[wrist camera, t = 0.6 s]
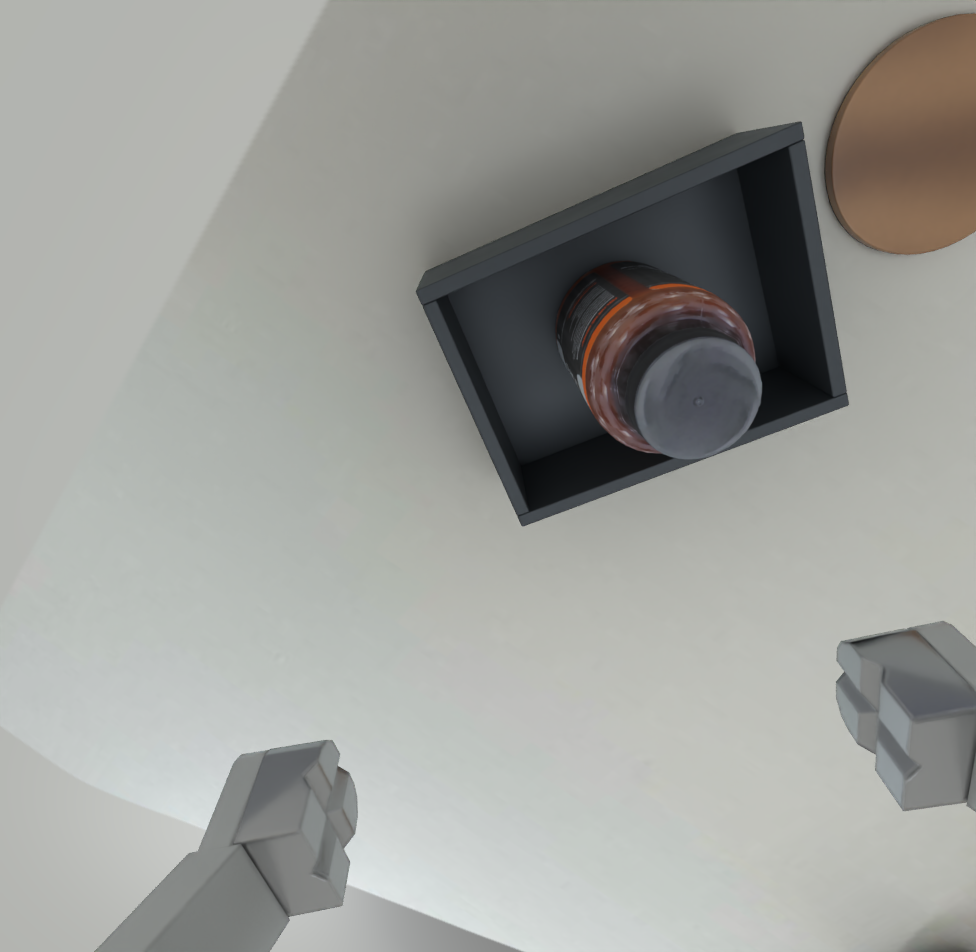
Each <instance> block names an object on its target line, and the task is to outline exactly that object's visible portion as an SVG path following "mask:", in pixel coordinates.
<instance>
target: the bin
mask: <svg viewBox="0 0 976 952" xmlns="http://www.w3.org/2000/svg"><path fill="white" fill-rule="evenodd" d="M803 139H804V133H803V127H802V122H795V123H789V124H784V125H779V126H773V127H768V128H762V129H757V130H751V131H746V132H741V133H736V134H734V135H732V136H730V137H727V138H725V139H723V140H721V141H718V142H716V143H714V144H712V145H709V146H707V147H705V148H703V149H700V150H698V151H696V152H694V153H691V154H689V155H687V156H685V157H682V158H680V159H678V160H676V161H673V162H671V163H669V164H667V165H664V166H662V167H660V168H658V169H655V170H653V171H651V172H649V173H646V174H644V175H642V176H640V177H637V178H635V179H633V180H631V181H628V182H626V183H624V184H621V185H619V186H617V187H615V188H612V189H610V190H608V191H606V192H603V193H601V194H599V195H597V196H594V197H592V198H590V199H588V200H585V201H583V202H581V203H579V204H576V205H574V206H572V207H570V208H567V209H565V210H563V211H561V212H558V213H556V214H554V215H552V216H549V217H547V218H545V219H543V220H540V221H538V222H536V223H534V224H531V225H529V226H527V227H525V228H522V229H520V230H518V231H516V232H513V233H511V234H509V235H507V236H504V237H502V238H500V239H498V240H495V241H493V242H491V243H488V244H486V245H484V246H482V247H479V248H477V249H475V250H473V251H470V252H468V253H466V254H464V255H461V256H459V257H457V258H455V259H452V260H450V261H448V262H446V263H443V264H441V265H439V266H437V267H434V268H432V269H430V270H428V271H426V272H425V273H424V275H423V277H422V279H421V281H420V284H419V286H418V288H417V290H416V293H417V295H418V298H419V300H420V302H421V304H422V305H423V309H424V311H425V313H426V315H427V317H428V320H429V322H430V324H431V326H432V329H433V331H434V333H435V335H436V337H437V340H438V342H439V344H440V346H441V348H442V351H443V353H444V355H445V357H446V360H447V362H448V364H449V366H450V368H451V371H452V373H453V375H454V377H455V379H456V382H457V384H458V386H459V388H460V390H461V393H462V395H463V397H464V399H465V402H466V404H467V406H468V408H469V410H470V413H471V415H472V417H473V419H474V421H475V424H476V426H477V428H478V430H479V433H480V435H481V437H482V439H483V441H484V444H485V446H486V448H487V450H488V452H489V455H490V457H491V459H492V461H493V464H494V466H495V468H496V470H497V472H498V475H499V477H500V479H501V481H502V483H503V486H504V488H505V490H506V492H507V495H508V497H509V499H510V501H511V503H512V506H513V508H514V510H515V512H516V514H517V515H518V519H519V521H520V523H521V525H522V526H526V525H528V524H531V523H534V522H536V521H539V520H542V519H544V518H547V517H550V516H552V515H555V514H558V513H561V512H563V511H566V510H569V509H571V508H574V507H577V506H579V505H582V504H585V503H587V502H590V501H593V500H595V499H598V498H601V497H604V496H606V495H609V494H612V493H614V492H617V491H620V490H622V489H625V488H628V487H630V486H633V485H636V484H638V483H641V482H644V481H646V480H649V479H652V478H655V477H657V476H660V475H663V474H665V473H668V472H671V471H673V470H676V469H679V468H681V467H684V466H687V465H689V464H692V463H695V462H698V461H700V460H703V459H706V458H708V457H705V458H700V459H686V460H685V459H677V458H673V457H670V456H667V455H664V454H662V453H646V452H642V451H637V450H635V449H633V448H631V447H629V446H626V445H624V444H622V443H621V442H619V441H617V440H616V439H615V438H614V437H613V436H611V435H610V434H609V433H608V432H607V431H606V430H605V429H604V428H603V427H602V426H601V424H600V423H599V422H598V421H597V419H596V418H595V416H594V414H593V412H592V411H591V409H590V407H589V406H588V404H587V402H586V401H585V399H584V398H583V396H582V394H581V392H580V390H579V389H578V387H577V385H576V383H575V382H574V380H573V378H572V376H571V375H570V373H569V371H568V369H567V368H566V366H565V364H564V362H563V360H562V358H561V355H560V353H559V350H558V346H557V342H556V331H555V328H556V319H557V314H558V311H559V308H560V306H561V303H562V301H563V299H564V297H565V295H566V294H567V292H568V291H569V289H570V288H571V287H572V286H573V285H574V283H575V282H576V281H577V280H578V279H579V278H580V277H582V276H583V275H584V274H586V273H587V272H589V271H591V270H592V269H594V268H596V267H598V266H601V265H604V264H607V263H611V262H617V261H633V262H640V263H644V264H647V265H649V266H652V267H655V268H657V269H659V270H662V271H664V272H666V273H668V274H671V275H673V276H676V277H677V278H680V279H682V280H684V281H686V282H688V283H691V284H693V285H695V286H697V287H700V288H702V289H704V290H706V291H708V292H710V293H712V294H714V295H716V296H718V297H719V298H721V299H722V300H723V301H725V302H726V303H728V304H729V305H730V306H731V307H732V308H733V309H734V310H735V311H736V312H737V313H738V314H739V315H740V317H741V318H742V320H743V321H744V323H745V324H746V326H747V327H748V330H749V332H750V334H751V337H752V340H753V346H754V350H755V363H756V365H757V367H758V369H759V372H760V376H761V381H762V395H761V404H760V406H759V408H758V411H757V414H756V416H755V418H754V420H753V422H752V424H751V425H750V427H749V428H748V430H747V431H746V432H745V433H744V434H743V435H742V436H741V437H740V439H738V440H737V441H736V442H735V443H734V444H732V445H731V446H730V447H728V448H726V449H724V450H722V451H721V452H719V453H722V452H724V451H727V450H730V449H732V448H735V447H738V446H740V445H743V444H746V443H749V442H751V441H754V440H757V439H759V438H762V437H765V436H767V435H770V434H773V433H775V432H778V431H781V430H783V429H786V428H789V427H792V426H794V425H797V424H800V423H802V422H805V421H808V420H810V419H813V418H816V417H818V416H821V415H824V414H826V413H829V412H832V411H834V410H837V409H840V408H843V407H845V406H848V405H849V402H848V396H847V393H846V392H847V390H846V384H845V378H844V372H843V366H842V360H841V355H840V349H839V343H838V337H837V331H836V325H835V319H834V313H833V307H832V301H831V295H830V289H829V283H828V277H827V271H826V265H825V259H824V253H823V247H822V241H821V235H820V229H819V224H818V218H817V212H816V206H815V200H814V194H813V188H812V182H811V176H810V170H809V164H808V158H807V152H806V146H805V141H804V140H803ZM719 453H716V454H719ZM716 454H714V455H716ZM714 455H712V456H714ZM709 457H711V456H709Z"/></svg>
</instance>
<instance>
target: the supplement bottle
mask: <svg viewBox="0 0 976 952" xmlns="http://www.w3.org/2000/svg"><path fill="white" fill-rule="evenodd" d="M555 331H556V342H557V346H558V350H559V353H560V355H561V358H562V360H563V362H564V364H565V366H566V368H567V369H568V371H569V373H570V375H571V376H572V378H573V380H574V382H575V383H576V385H577V387H578V389H579V390H580V392H581V394H582V396H583V398H584V399H585V401H586V402H587V404H588V406H589V407H590V409H591V411H592V412H593V414H594V416H595V418H596V419H597V421H598V422H599V423H600V424H601V426H602V427H603V428H604V429H605V430H606V431H607V432H608V433H609V434H610V435H611V436H613V437H614V438H615V439H616V440H617V441H619V442H621V443H622V444H624V445H626V446H629V447H631V448H633V449H635V450H637V451H642V452H646V453H662V454H664V455H667V456H670V457H673V458H677V459H685V460H686V459H700V458H705V457H709V456H712V455H714V454H716V453H719V452H721V451H722V450H724V449H726V448H728V447H730V446H731V445H732V444H734V443H735V442H736V441H737V440H738V439H740V437H741V436H742V435H743V434H744V433H745V432H746V431H747V430H748V428H749V427H750V425H751V424H752V422H753V420H754V418H755V416H756V414H757V411H758V408H759V406H760V404H761V395H762V381H761V376H760V372H759V369H758V367H757V365H756V363H755V350H754V346H753V340H752V337H751V334H750V332H749V330H748V327H747V326H746V324H745V323H744V321H743V320H742V318H741V317H740V315H739V314H738V313H737V312H736V311H735V310H734V309H733V308H732V307H731V306H730V305H729V304H728V303H726V302H725V301H723V300H722V299H721V298H719V297H718V296H716V295H714V294H712V293H710V292H708V291H706V290H704V289H702V288H700V287H697V286H695V285H693V284H691V283H688V282H686V281H684V280H682V279H680V278H677V277H676V276H673V275H671V274H668V273H666V272H664V271H662V270H659V269H657V268H655V267H652V266H649V265H647V264H644V263H640V262H633V261H617V262H611V263H607V264H604V265H601V266H598V267H596V268H594V269H592V270H591V271H589V272H587V273H586V274H584V275H583V276H582V277H580V278H579V279H578V280H577V281H576V282H575V283H574V285H573V286H572V287H571V288H570V289H569V291H568V292H567V294H566V295H565V297H564V299H563V301H562V303H561V306H560V308H559V311H558V314H557V319H556V328H555Z"/></svg>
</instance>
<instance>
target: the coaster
mask: <svg viewBox="0 0 976 952" xmlns="http://www.w3.org/2000/svg"><path fill="white" fill-rule="evenodd" d="M825 177H826V187H827V192H828V196H829V200H830V203H831V205H832V208H833V211H834V213H835V215H836V216H837V218H838V220H839V222H840V223H841V224H842V226H843V227H844V228H845V229H846V231H847V232H848V233H849V234H850V235H852V236H853V237H854V238H855V239H856V240H858V241H859V242H861V243H863V244H864V245H866V246H868V247H871V248H873V249H876V250H879V251H883V252H888V253H893V254H905V255H910V254H921V253H926V252H931V251H935V250H938V249H941V248H944V247H947V246H949V245H951V244H953V243H956V242H958V241H960V240H962V239H963V238H965V237H967V236H968V235H970V234H972V233H973V232H975V231H976V14H975V13H971V14H958V15H954V16H949V17H945V18H941V19H938V20H935V21H933V22H930V23H927V24H925V25H922V26H920V27H918V28H916V29H914V30H912V31H910V32H908V33H906V34H905V35H903V36H902V37H900V38H899V39H897V40H896V41H894V42H893V43H892V44H890V45H889V46H888V47H887V48H886V49H884V50H883V51H882V52H881V53H880V54H879V55H878V56H877V57H876V58H875V59H874V60H873V61H872V62H871V63H870V64H869V65H868V66H867V67H866V68H865V70H864V71H863V72H862V73H861V75H860V76H859V77H858V79H857V80H856V81H855V83H854V84H853V86H852V87H851V89H850V91H849V92H848V94H847V95H846V97H845V99H844V101H843V103H842V105H841V107H840V109H839V111H838V113H837V116H836V119H835V121H834V124H833V127H832V130H831V134H830V137H829V141H828V146H827V153H826V164H825Z"/></svg>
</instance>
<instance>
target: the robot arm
mask: <svg viewBox="0 0 976 952" xmlns="http://www.w3.org/2000/svg"><path fill="white" fill-rule="evenodd" d="M836 661H837V662H838V663H839V665H840V666H841V667H842V669H843V670H844V673H843V674H842V675H841V676H840V678H839V679H838V680H837V681H836V699H837V703H838V706H839V710H840V713H841V716H842V718H843V720H844V722H845V725H846V727H847V729H848V730H849V732H850V734H851V735H852V737H853V738H854V740H855V741H856V743H857V744H858V745H860V746H861V747H863V748H865V749H867V750H868V751H870V752H872V753H874V754H876V765H875V771H876V772H877V774H878V775H879V777H880V778H881V779H882V781H883V782H884V784H885V785H886V787H887V788H888V790H889V791H890V793H891V794H892V795H893V797H894V798H895V800H896V801H897V803H898V804H899V806H900V807H901V809H902V810H903V811H909V810H916V809H923V808H930V807H937V806H945V805H952V804H959V803H966V802H967V806H968V807H969V808H971V809H972V810H974V811H975V812H976V646H974V645H973V644H972V643H971V642H970V641H969V640H968V639H967V638H966V637H965V636H964V635H963V634H961V633H960V632H959V631H958V630H957V629H956V628H955V627H954V626H953V625H951V624H949V623H947V622H944V621H940V622H935V623H930V624H925V625H920V626H915V627H910V628H908V629H899V630H894V631H889V632H884V633H879V634H874V635H869V636H864V637H860V638H855V639H850V640H845V641H841V642H840V643H839V645H838V647H837V660H836ZM339 757H340V753H339V751H338V749H337V747H336V746H335V744H334V742H333V740H323V741H317V742H311V743H305V744H298V745H292V746H286V747H280V748H274V749H270V750H265V751H259V752H253V753H247V754H241V755H240V756H239V757H238V759H237V760H236V761H235V762H234V763H233V765H232V768H231V770H230V773H229V775H228V778H227V780H226V783H225V785H224V788H223V790H222V793H221V795H220V798H219V800H218V803H217V805H216V807H215V810H214V812H213V815H212V817H211V820H210V822H209V825H208V827H207V830H206V832H205V835H204V837H203V840H202V842H201V845H200V847H199V850H198V851H197V852H192V853H189V854H188V855H187V856H186V857H185V858H184V859H183V860H182V861H181V862H180V863H179V864H178V865H177V866H176V867H175V868H174V869H173V870H172V871H171V872H170V874H168V875H167V876H166V878H165V879H164V880H163V881H162V882H161V883H160V884H159V885H158V886H157V887H156V888H155V889H154V890H153V891H152V892H151V893H150V894H149V895H148V896H147V897H146V898H145V899H144V900H143V901H142V903H141V904H140V905H139V906H138V907H137V908H136V909H135V910H134V911H133V912H132V913H131V914H130V915H129V916H128V917H127V919H125V920H124V921H123V922H122V923H121V925H119V926H118V928H117V929H116V930H115V931H114V932H113V933H112V934H111V935H110V936H109V937H108V938H107V939H106V940H105V941H104V942H103V943H102V944H101V945H100V946H99V948H97V949H96V950H95V951H94V952H270V950H271V949H272V947H273V946H274V944H275V943H276V941H277V939H278V938H279V936H280V935H281V933H282V932H283V930H284V928H285V927H286V925H287V924H288V922H289V917H290V916H295V915H300V914H304V913H310V912H315V911H320V910H325V909H330V908H335V907H340V906H342V905H343V899H344V893H345V888H346V883H347V877H348V871H349V866H350V860H349V859H348V857H347V855H346V853H345V851H344V848H345V846H346V845H347V844H348V842H349V841H350V840H351V838H352V837H353V836H354V834H355V831H356V824H357V818H358V808H357V794H356V790H355V785H354V782H353V780H352V778H351V776H350V773H349V772H347V771H346V770H344V769H342V768H340V767H339V766H338V762H339Z"/></svg>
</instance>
